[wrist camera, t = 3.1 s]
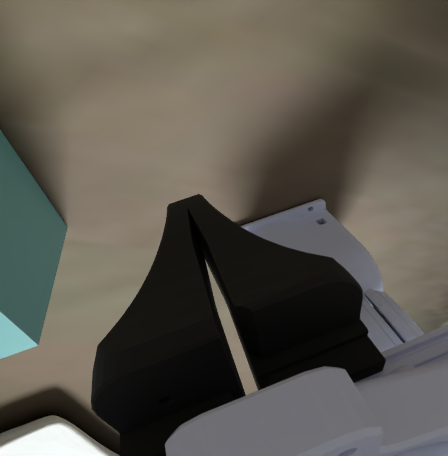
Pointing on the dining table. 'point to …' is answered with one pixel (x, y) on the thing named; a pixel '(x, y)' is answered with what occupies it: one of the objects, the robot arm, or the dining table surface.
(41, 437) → the square plate
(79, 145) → the dining table surface
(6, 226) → the teal slab
